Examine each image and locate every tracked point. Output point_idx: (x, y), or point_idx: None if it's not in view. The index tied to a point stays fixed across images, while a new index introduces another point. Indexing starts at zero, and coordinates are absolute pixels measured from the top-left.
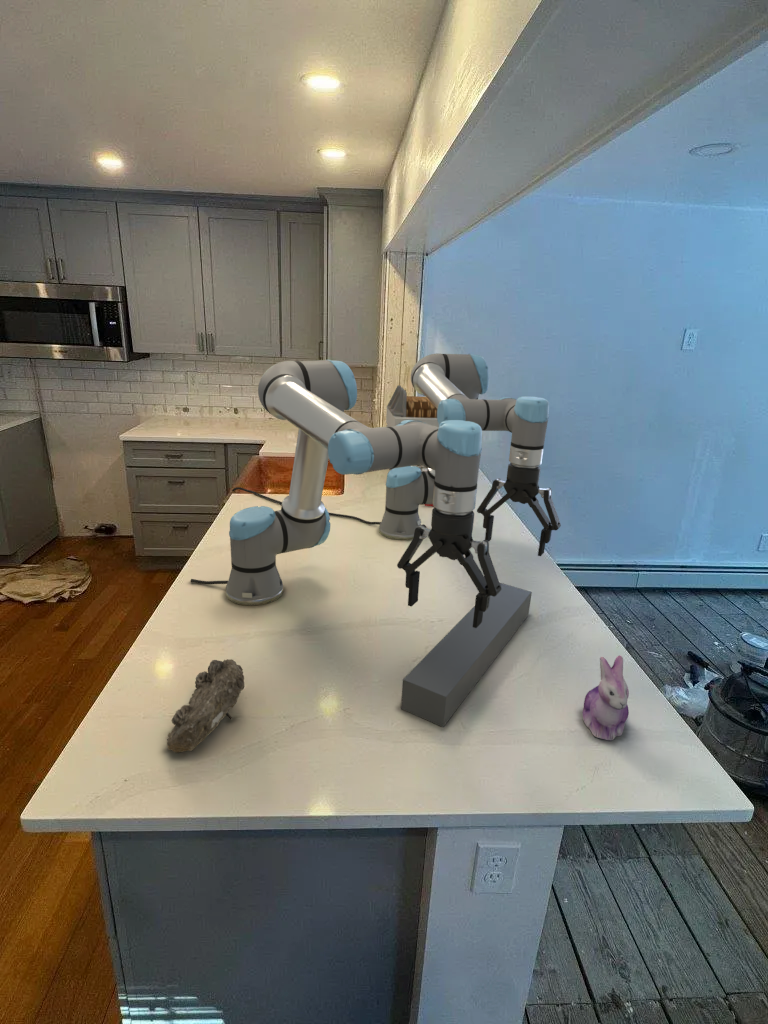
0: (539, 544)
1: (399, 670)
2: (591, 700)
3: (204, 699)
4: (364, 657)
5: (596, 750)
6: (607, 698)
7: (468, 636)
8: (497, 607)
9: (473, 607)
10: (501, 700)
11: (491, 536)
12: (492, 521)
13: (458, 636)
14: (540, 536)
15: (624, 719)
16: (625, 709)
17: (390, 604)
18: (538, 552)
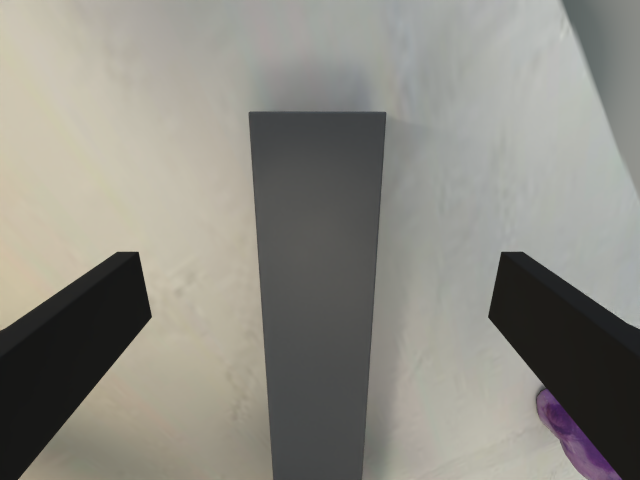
0: (534, 372)
1: (230, 446)
2: (572, 452)
3: None
4: (161, 448)
5: (554, 449)
6: None
7: (314, 433)
8: (321, 287)
9: (264, 323)
10: (405, 429)
11: (125, 264)
12: (25, 369)
13: (296, 443)
14: (582, 429)
15: None
16: None
17: (49, 280)
18: (501, 330)
